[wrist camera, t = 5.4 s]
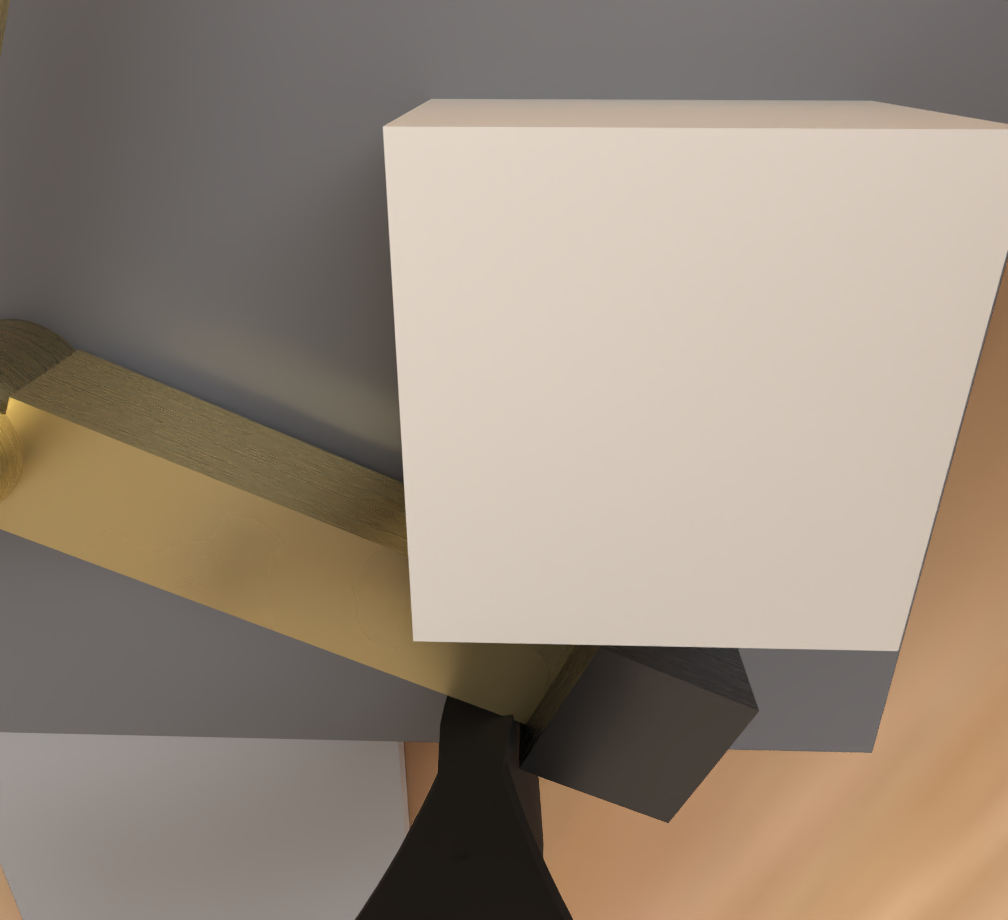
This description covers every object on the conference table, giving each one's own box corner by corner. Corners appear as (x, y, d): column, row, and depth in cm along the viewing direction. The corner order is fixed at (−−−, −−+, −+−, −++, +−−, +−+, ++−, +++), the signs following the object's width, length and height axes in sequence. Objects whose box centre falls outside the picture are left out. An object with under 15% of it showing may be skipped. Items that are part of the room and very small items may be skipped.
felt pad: (402, 720, 15) (397, 741, 14) (421, 990, 18) (418, 1013, 18) (-37, 710, 15) (-53, 731, 15) (66, 979, 19) (55, 1002, 18)
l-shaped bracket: (102, -480, 7) (-347, -1026, 4) (1080, 91, 9) (1465, 126, 5) (-52, 425, 11) (-339, 613, 8) (646, 695, 13) (691, 955, 9)
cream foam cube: (871, 99, 9) (1040, 129, 6) (800, 488, 12) (897, 650, 9) (430, 98, 10) (383, 126, 6) (444, 481, 12) (412, 641, 9)
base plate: (1064, -101, 9) (1109, -113, 8) (854, 717, 15) (871, 752, 14) (-347, -98, 10) (-418, -109, 9) (-41, 697, 15) (-70, 730, 14)
